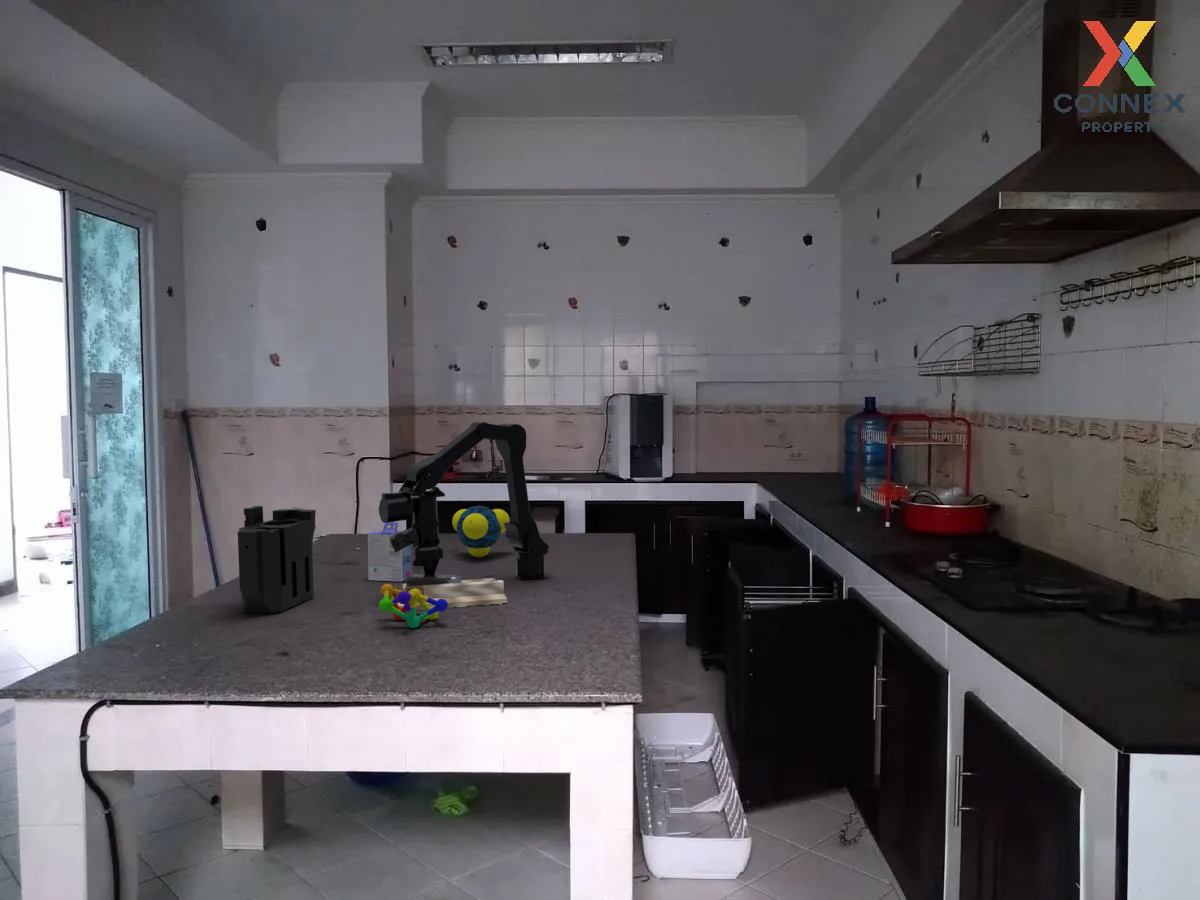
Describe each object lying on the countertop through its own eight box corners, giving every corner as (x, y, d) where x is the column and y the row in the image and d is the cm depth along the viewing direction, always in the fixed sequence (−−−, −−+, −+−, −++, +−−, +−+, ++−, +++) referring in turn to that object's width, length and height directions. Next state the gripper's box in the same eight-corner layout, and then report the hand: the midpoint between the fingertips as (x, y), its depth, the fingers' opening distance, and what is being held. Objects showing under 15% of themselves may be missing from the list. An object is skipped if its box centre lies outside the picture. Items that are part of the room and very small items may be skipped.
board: (494, 582, 210) (494, 567, 209) (507, 603, 188) (506, 587, 188) (395, 589, 204) (395, 573, 203) (397, 611, 182) (396, 594, 182)
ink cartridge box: (413, 577, 217) (411, 522, 216) (404, 582, 211) (402, 525, 210) (377, 576, 219) (376, 521, 218) (367, 581, 213) (366, 524, 212)
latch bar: (463, 587, 197) (463, 575, 196) (458, 591, 193) (458, 578, 193) (411, 586, 199) (411, 573, 199) (405, 589, 195) (405, 576, 195)
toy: (505, 563, 233) (504, 510, 232) (444, 564, 234) (443, 510, 233) (511, 552, 249) (511, 502, 248) (455, 553, 250) (454, 503, 249)
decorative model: (434, 592, 183) (454, 588, 170) (428, 633, 181) (447, 632, 168) (375, 583, 178) (390, 577, 165) (367, 624, 176) (382, 623, 162)
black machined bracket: (320, 595, 198) (317, 502, 197) (270, 618, 178) (266, 515, 176) (274, 593, 200) (271, 502, 199) (220, 616, 180) (216, 514, 179)
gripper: (389, 514, 205) (393, 576, 206) (390, 526, 187) (395, 595, 188) (436, 510, 208) (439, 572, 209) (441, 522, 190) (445, 590, 191)
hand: (429, 582), depth 199 cm, fingers closed
